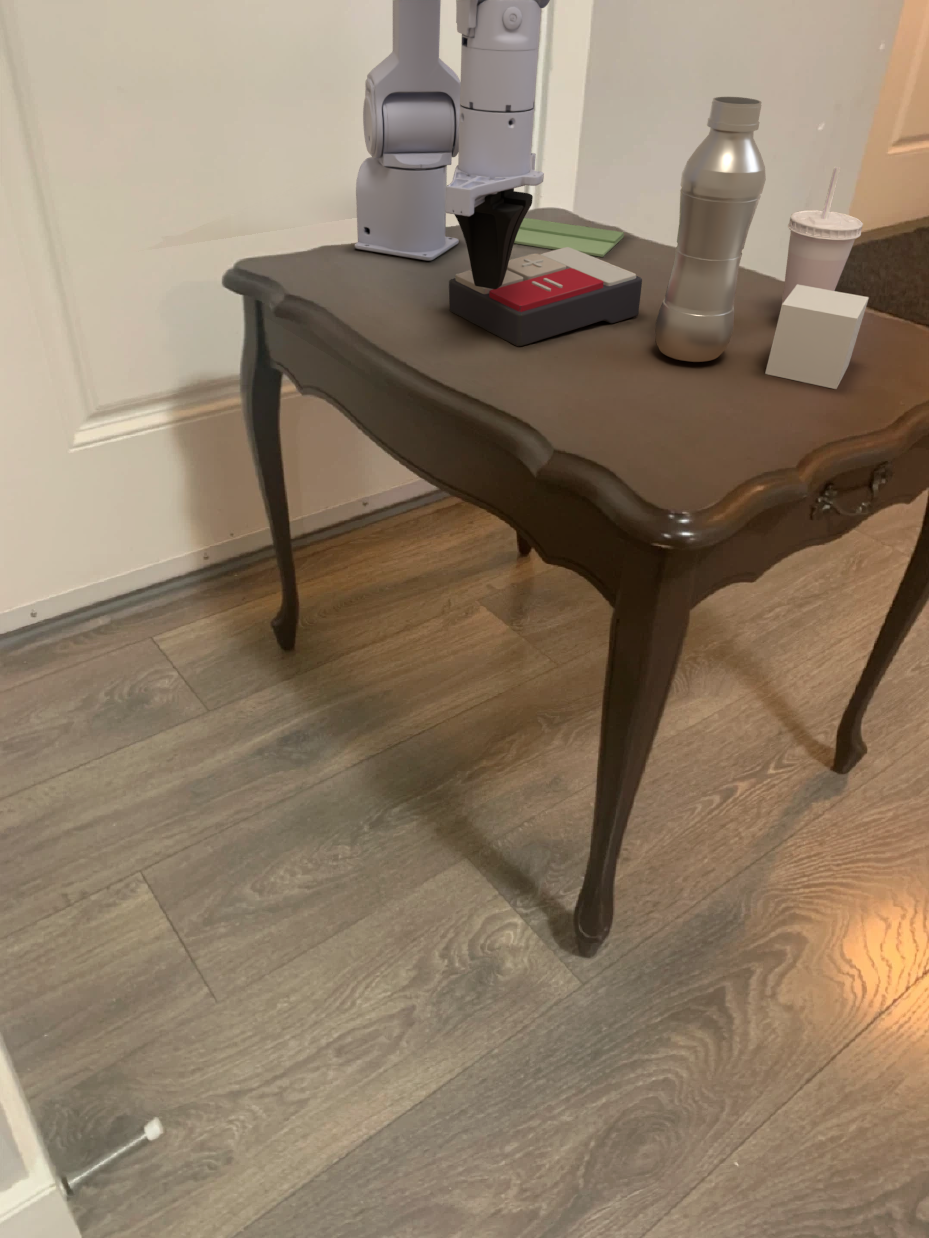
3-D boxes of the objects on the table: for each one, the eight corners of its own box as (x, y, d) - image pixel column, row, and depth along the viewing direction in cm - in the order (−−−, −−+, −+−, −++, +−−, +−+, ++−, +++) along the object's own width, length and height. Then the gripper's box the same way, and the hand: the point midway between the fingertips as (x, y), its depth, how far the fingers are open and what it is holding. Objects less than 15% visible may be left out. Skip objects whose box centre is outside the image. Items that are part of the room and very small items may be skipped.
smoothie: (753, 324, 89) (789, 165, 81) (785, 308, 93) (822, 155, 85) (815, 342, 86) (859, 179, 77) (845, 325, 90) (891, 168, 81)
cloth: (487, 239, 109) (487, 234, 108) (514, 221, 115) (514, 215, 115) (602, 257, 105) (603, 251, 104) (623, 237, 111) (624, 232, 111)
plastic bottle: (636, 347, 83) (675, 95, 71) (699, 339, 86) (747, 92, 74) (676, 375, 79) (725, 110, 67) (742, 365, 81) (800, 106, 69)
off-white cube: (764, 374, 80) (781, 304, 76) (780, 351, 84) (796, 284, 80) (837, 389, 78) (857, 318, 74) (849, 365, 82) (869, 297, 78)
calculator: (446, 271, 87) (568, 240, 94) (447, 316, 90) (565, 282, 97) (519, 306, 80) (645, 270, 87) (518, 354, 83) (640, 315, 90)
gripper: (512, 127, 65) (501, 320, 73) (575, 98, 75) (559, 269, 84) (420, 116, 67) (419, 305, 75) (494, 90, 77) (486, 257, 86)
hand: (488, 285), depth 80 cm, fingers closed
